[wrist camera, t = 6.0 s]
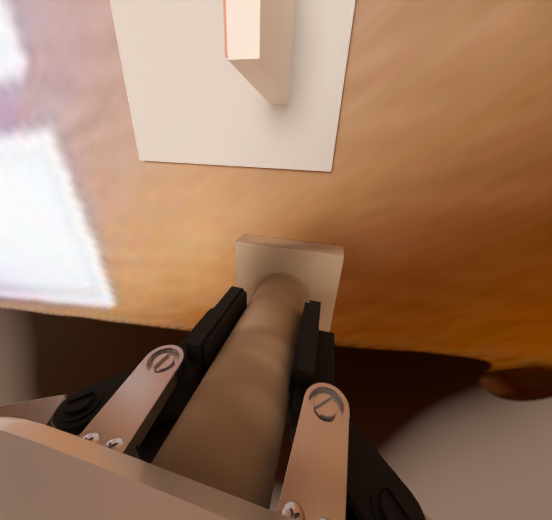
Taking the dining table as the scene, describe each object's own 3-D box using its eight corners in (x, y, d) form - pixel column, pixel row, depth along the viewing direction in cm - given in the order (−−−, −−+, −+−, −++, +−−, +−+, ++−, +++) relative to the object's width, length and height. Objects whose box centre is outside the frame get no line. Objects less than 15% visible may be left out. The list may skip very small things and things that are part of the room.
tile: (296, -10, 18) (263, -180, 9) (289, 103, 22) (259, 58, 13) (270, -8, 19) (214, -167, 10) (267, 103, 22) (223, 60, 13)
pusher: (343, 246, 12) (371, 500, 3) (327, 327, 15) (317, 605, 5) (244, 234, 14) (44, 389, 4) (245, 311, 16) (121, 516, 7)
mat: (373, -126, 16) (375, -140, 15) (331, 171, 24) (331, 171, 23) (102, -75, 20) (94, -84, 19) (144, 160, 28) (139, 160, 28)
